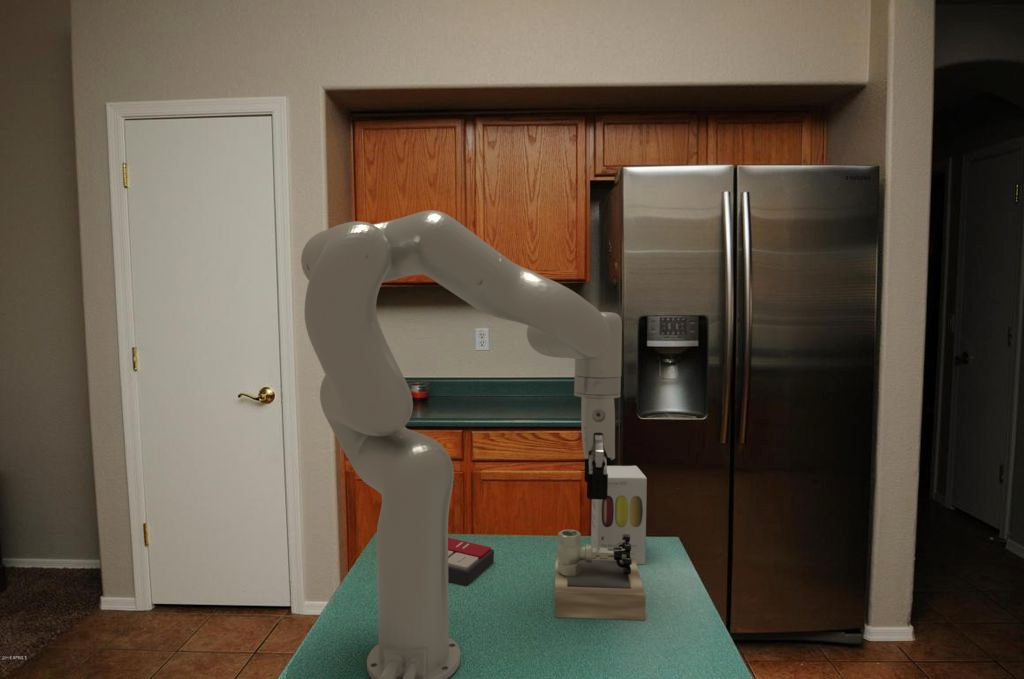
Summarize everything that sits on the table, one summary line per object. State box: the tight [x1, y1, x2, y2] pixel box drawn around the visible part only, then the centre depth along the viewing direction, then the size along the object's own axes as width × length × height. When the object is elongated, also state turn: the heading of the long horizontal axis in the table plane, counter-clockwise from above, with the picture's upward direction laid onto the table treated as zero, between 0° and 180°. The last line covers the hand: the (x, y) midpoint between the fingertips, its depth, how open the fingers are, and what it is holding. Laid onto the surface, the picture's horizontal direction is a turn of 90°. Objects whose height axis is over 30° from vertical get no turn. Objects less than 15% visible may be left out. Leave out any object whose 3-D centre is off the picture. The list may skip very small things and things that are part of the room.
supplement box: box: [590, 465, 648, 565], centre depth 120 cm, size 10×9×17 cm
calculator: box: [448, 537, 495, 587], centre depth 115 cm, size 11×4×15 cm
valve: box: [556, 529, 632, 576], centre depth 102 cm, size 7×7×12 cm
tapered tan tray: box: [554, 555, 646, 621], centre depth 102 cm, size 14×14×4 cm
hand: (595, 490), depth 101 cm, fingers open, 9 cm apart
